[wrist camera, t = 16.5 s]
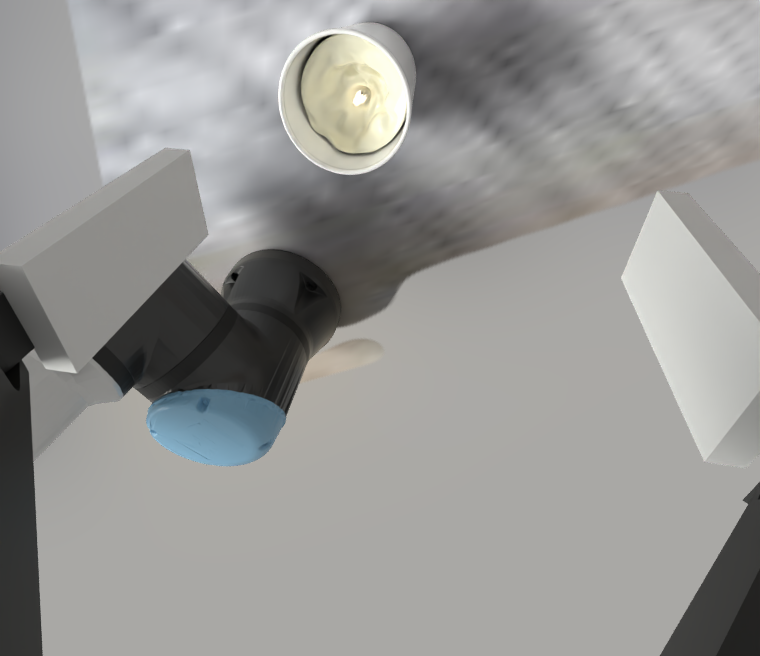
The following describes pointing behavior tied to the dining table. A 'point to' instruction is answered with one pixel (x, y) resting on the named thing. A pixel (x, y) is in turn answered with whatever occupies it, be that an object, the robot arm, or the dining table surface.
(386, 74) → the candle holder
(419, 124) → the dining table surface
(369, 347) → the dining table surface
